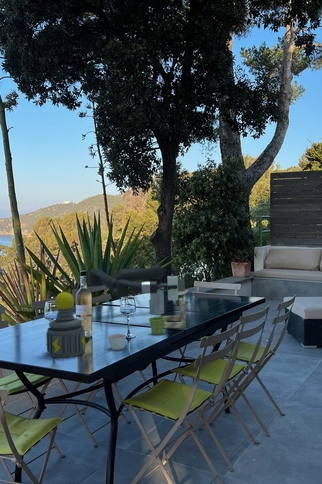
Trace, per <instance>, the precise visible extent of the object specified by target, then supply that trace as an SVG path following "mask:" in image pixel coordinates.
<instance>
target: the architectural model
mask: <svg viewBox="0 0 322 484" xmlns="http://www.w3.org/2000/svg"><path fill="white" fill-rule="evenodd" d="M185 282H186V281H185V277H184V278H182V279H181V278H180V277H178V300H175V307H178V306H179V298H183V299H184V297H185V295H186V293H188V292H189V288H188V289H187V288H186V284H185Z"/></svg>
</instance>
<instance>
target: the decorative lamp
mask: <svg viewBox="0 0 322 484" xmlns="http://www.w3.org/2000/svg"><path fill="white" fill-rule="evenodd" d="M74 303H75V299H74V297H73V295H72V293H70V292H67V291H61V292H60V293H58V294H57V296H56V297H55V300H54V305H55V306H56V308H57V313H56V317H55V319H53V320H52V321H50V322H49V323H48V328H47V329H46V336H45V337H46V351H47V353H48V355H49V357H52V358H57V359H66V358H73V357H74V358H75V357H78V356H81V355H83V354H84V353H85V350H86V330H85V328H84V325H82V320H81V319H79V318H75V316H74V312H73V309H72V308H73V306H74Z"/></svg>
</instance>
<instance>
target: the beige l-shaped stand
mask: <svg viewBox="0 0 322 484" xmlns="http://www.w3.org/2000/svg"><path fill="white" fill-rule="evenodd" d="M178 306H179V314H178V315H163V316H162V317H164V318H165V320H164V326H163V329H184V328H187V317H186V314H187V313H186V312H187V311H186V302H185V301H184V298H179V305H178Z"/></svg>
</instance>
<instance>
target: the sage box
mask: <svg viewBox="0 0 322 484" xmlns="http://www.w3.org/2000/svg"><path fill="white" fill-rule="evenodd" d="M166 279H167V280H166V281H167V284H168V285H177V289H171V290H167V300H168V301H176V300H178V279H179V277H178V275H174V273H171V275H170V276H169V275H168V276H167V278H166Z"/></svg>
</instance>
